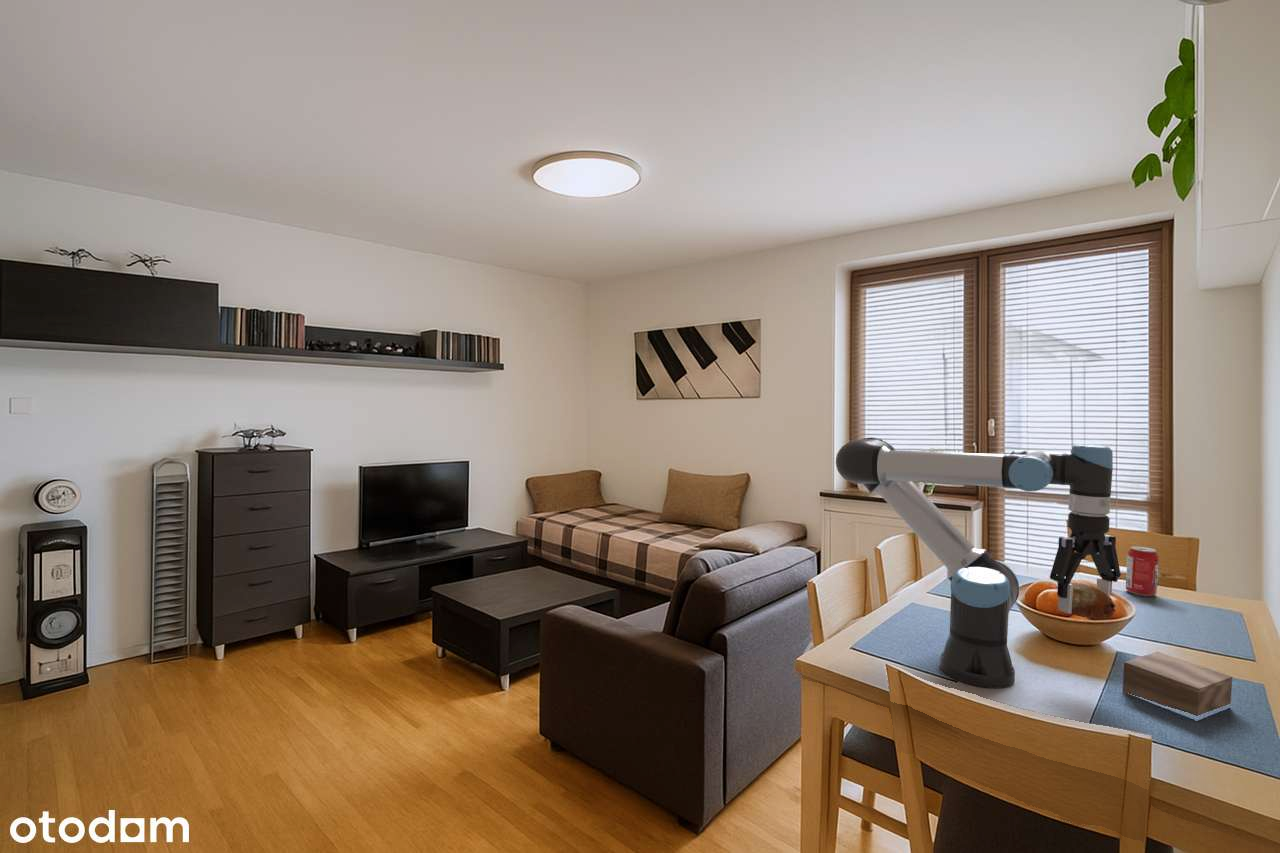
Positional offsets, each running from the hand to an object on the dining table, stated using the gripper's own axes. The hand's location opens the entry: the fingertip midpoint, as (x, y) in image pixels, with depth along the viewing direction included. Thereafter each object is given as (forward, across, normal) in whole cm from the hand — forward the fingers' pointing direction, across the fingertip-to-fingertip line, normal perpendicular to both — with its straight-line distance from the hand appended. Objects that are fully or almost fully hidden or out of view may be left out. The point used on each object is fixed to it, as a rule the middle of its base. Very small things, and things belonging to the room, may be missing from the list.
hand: (1083, 609), depth 138 cm
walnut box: (+16, +10, -13) cm, 23 cm away
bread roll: (+1, 0, 0) cm, 1 cm away
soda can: (+16, +76, +42) cm, 88 cm away
